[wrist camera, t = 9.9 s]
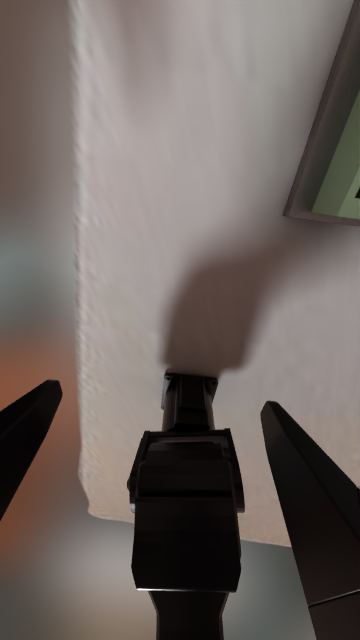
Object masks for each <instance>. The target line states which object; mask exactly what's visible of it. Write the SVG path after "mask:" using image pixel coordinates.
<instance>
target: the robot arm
mask: <svg viewBox="0 0 360 640" xmlns="http://www.w3.org/2000/svg"><path fill="white" fill-rule="evenodd" d="M168 377H169V378H168ZM217 386H218V380H217V379H216V378H212V377H202V376H192V375H182V374H172V373H166V374H165V375H164V383H163V393H162V403H161V409H163V410H164V414H163V423H162V431H156V432H150V431H145V432H144V435H143V438H142V439H141V442H140V445H139V448H138V451H137V454H136V457H135V461H134V464H133V467H132V470H131V473H130V477H129V479H128V481H127V488H128V490H129V492H130V508H131V511H132V512H133V513H135V527H134V530H135V531H134V543H133V554H132V564H131V568H132V573H133V577H134V581H135V585H136V588H137V589H138V590H148V592H149V595H150V597H151V600H152V602H153V605H154V607H155V610H156V613H157V633H156V640H224V637H223V624H222V613H223V610H224V607H225V604H226V601H227V598H228V595H229V592H232V593H234V592H236V590H237V587H238V582H239V578H240V573H241V563H240V558H241V545H240V536H239V527H238V517H237V513H244V512H245V503H244V492H243V485H242V478H241V473H240V468H239V463H238V459H237V455H236V451H235V447H234V443H233V439H232V435H231V431H230V428H224V429H223V430H215V426H214V418H213V409H212V402H213V399H214V396H215V392H216V389H217ZM61 398H62V389H61V386H60V382H59V381H58V380H51V379H49V380H46V381H45V382H43V383H42V384H40V385H39V386H37V387H36V388H34V389H33V390H31V391H30V392H28V393H27V394H25V395H24V396H22V397H21V398H19V399H18V400H16V401H15V402H13V403H12V404H10V405H9V406H7V407H6V408H4V409H3V410H1V411H0V521H1V519H2V517H3V515H4V513H5V512H6V509H7V508H8V506H9V504H10V502H11V500H12V498H13V497H14V494H15V493H16V491H17V489H18V487H19V485H20V483H21V482H22V480H23V478H24V476H25V474H26V472H27V470H28V469H29V467H30V465H31V463H32V461H33V459H34V457H35V455H36V454H37V452H38V450H39V448H40V446H41V444H42V442H43V440H44V438H45V437H46V434H47V432H48V430H49V428H50V425H51V423H52V421H53V418H54V416H55V413H56V411H57V408H58V406H59V404H60V401H61ZM261 423H262V429H263V435H264V441H265V447H266V452H267V457H268V461H269V464H270V468H271V472H272V475H273V479H274V483H275V486H276V490H277V494H278V498H279V501H280V505H281V509H282V512H283V516H284V520H285V523H286V527H287V531H288V535H289V538H290V542H291V546H292V549H293V553H294V556H295V560H296V564H297V568H298V571H299V575H300V579H301V583H302V586H303V590H304V594H305V597H306V601H307V604H308V609H309V612H310V616H311V620H312V624H313V628H314V631H315V635H316V639H317V640H360V489H359V488H357V487H356V485H355V484H354V483H353V482H352V481H351V479H350V478H349V477H348V476H347V475H346V474H345V473H344V472H343V471H342V470H341V469H340V468H339V467H338V466H337V465H336V464H335V463H334V461H333V460H332V459H331V458H330V457H329V456H328V455H327V454H326V453H325V452H324V451H323V450H322V449H321V448H320V447H319V446H318V445H317V444H316V442H315V441H314V440H313V439H312V438H311V437H310V436H309V435H308V434H307V433H306V432H305V431H304V430H303V429H302V428H301V427H300V426H299V424H298V423H297V422H296V421H295V420H294V419H293V418H292V417H291V416H290V415H289V414H288V413H287V412H286V411H285V410H284V409H283V408H282V407H281V405H280V404H279V403H277V402H275V401H267V402H266V403H265V405H264V407H263V409H262V411H261Z"/></svg>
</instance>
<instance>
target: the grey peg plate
mask: <svg viewBox="0 0 360 640" xmlns="http://www.w3.org/2000/svg"><path fill="white" fill-rule="evenodd" d="M359 90H360V0H354V3H353V6H352V9H351V12H350V15H349V18H348V21H347V24H346V27H345V30H344V33H343V36H342V39H341V42H340V45H339V48H338V51H337V54H336V57H335V60H334V63H333V66H332V69H331V72H330V75H329V78H328V81H327V84H326V87H325V90H324V93H323V96H322V99H321V102H320V105H319V108H318V111H317V114H316V117H315V120H314V123H313V126H312V129H311V132H310V135H309V138H308V141H307V144H306V147H305V150H304V153H303V156H302V159H301V162H300V165H299V168H298V171H297V174H296V177H295V180H294V183H293V186H292V189H291V192H290V195H289V198H288V201H287V204H286V207H285V210H284V213H283V216H286V217H292V218H300V219H308V220H315V221H323V222H331V223H338V224H346V225H354V226H360V219H354V218H346V217H339V216H332V215H326V214H319V213H313V212H311V211H312V209H313V206H314V204H315V201H316V199H317V196H318V194H319V191H320V189H321V186H322V184H323V181H324V179H325V176H326V173H327V171H328V168H329V166H330V163H331V161H332V158H333V156H334V153H335V151H336V148H337V146H338V143H339V141H340V138H341V136H342V133H343V131H344V128H345V125H346V123H347V120H348V118H349V115H350V113H351V110H352V108H353V105H354V103H355V100H356V98H357V95H358V93H359ZM359 189H360V187H359Z"/></svg>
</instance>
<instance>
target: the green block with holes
mask: <svg viewBox="0 0 360 640" xmlns="http://www.w3.org/2000/svg"><path fill="white" fill-rule="evenodd" d="M359 187H360V90H359V93H358V95H357V98H356V100H355V103H354V105H353V108H352V110H351V113H350V115H349V118H348V120H347V123H346V125H345V128H344V131H343V133H342V136H341V138H340V141H339V143H338V146H337V148H336V151H335V153H334V156H333V158H332V161H331V163H330V166H329V168H328V171H327V173H326V176H325V179H324V181H323V184H322V186H321V189H320V191H319V194H318V196H317V199H316V201H315V204H314V206H313V209H312V211H311V212H313V213H319V214H326V215H332V216H339V217H346V218H354V219H360V189H359Z"/></svg>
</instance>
